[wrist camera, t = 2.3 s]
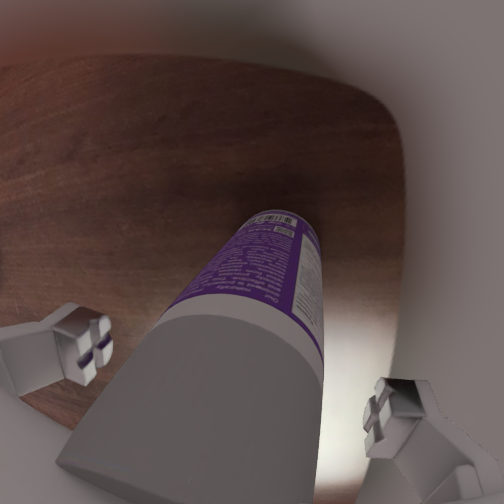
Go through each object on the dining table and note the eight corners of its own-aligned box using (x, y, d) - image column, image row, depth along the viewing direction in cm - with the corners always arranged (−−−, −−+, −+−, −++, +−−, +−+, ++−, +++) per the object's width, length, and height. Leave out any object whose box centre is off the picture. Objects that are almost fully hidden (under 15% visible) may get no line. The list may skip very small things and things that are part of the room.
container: (220, 263, 18) (43, 495, 4) (261, 192, 16) (34, 401, 2) (290, 306, 18) (228, 583, 4) (338, 239, 16) (380, 550, 3)
